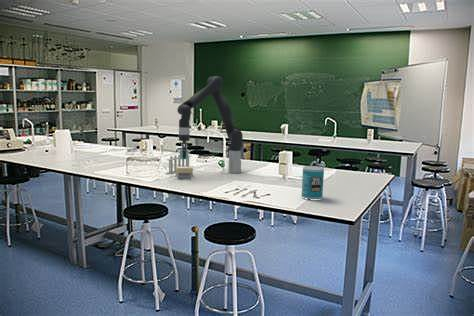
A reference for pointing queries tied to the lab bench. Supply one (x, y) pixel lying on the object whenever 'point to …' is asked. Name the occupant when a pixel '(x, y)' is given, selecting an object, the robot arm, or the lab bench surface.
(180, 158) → the stub
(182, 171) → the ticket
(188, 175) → the tray
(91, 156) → the lab bench surface
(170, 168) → the test tube rack
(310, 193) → the food can
